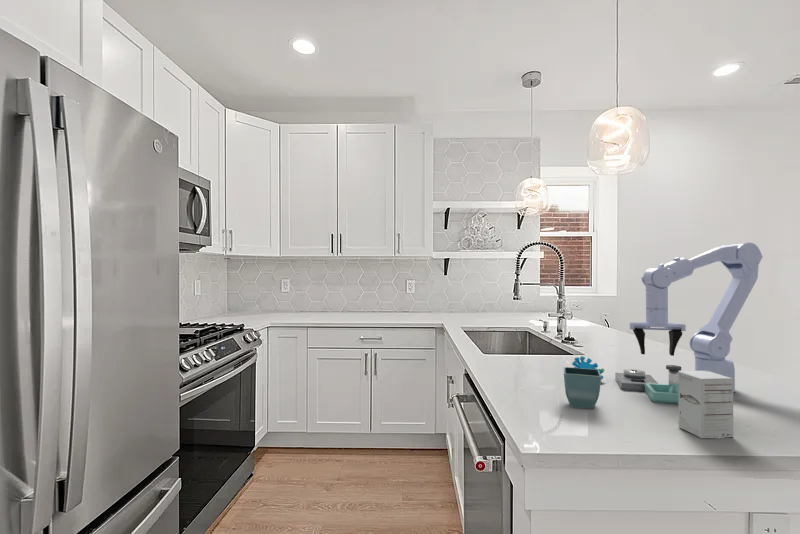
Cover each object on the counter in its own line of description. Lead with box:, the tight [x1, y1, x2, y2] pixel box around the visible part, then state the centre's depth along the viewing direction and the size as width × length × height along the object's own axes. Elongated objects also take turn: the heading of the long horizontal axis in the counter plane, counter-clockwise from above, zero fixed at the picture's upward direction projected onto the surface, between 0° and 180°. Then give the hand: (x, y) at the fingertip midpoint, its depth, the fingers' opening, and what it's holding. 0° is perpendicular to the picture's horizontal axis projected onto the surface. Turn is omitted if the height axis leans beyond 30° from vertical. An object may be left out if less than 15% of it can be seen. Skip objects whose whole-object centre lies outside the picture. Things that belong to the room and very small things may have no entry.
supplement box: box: [678, 370, 734, 439], centre depth 100 cm, size 7×7×13 cm
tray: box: [644, 383, 679, 405], centre depth 127 cm, size 14×11×2 cm
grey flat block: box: [614, 368, 659, 392], centre depth 142 cm, size 10×14×4 cm
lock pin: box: [665, 364, 682, 393], centre depth 127 cm, size 4×4×8 cm
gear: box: [571, 355, 605, 381], centre depth 147 cm, size 11×6×10 cm
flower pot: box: [563, 366, 602, 410], centre depth 120 cm, size 9×9×9 cm
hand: (657, 354), depth 138 cm, fingers open, 7 cm apart
